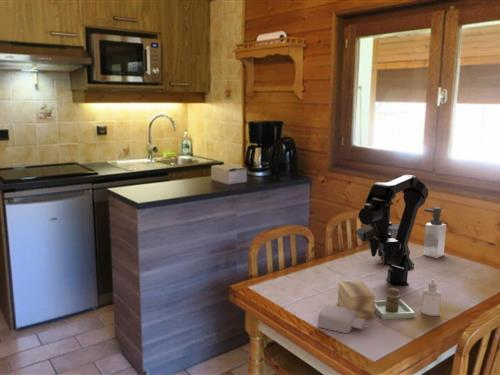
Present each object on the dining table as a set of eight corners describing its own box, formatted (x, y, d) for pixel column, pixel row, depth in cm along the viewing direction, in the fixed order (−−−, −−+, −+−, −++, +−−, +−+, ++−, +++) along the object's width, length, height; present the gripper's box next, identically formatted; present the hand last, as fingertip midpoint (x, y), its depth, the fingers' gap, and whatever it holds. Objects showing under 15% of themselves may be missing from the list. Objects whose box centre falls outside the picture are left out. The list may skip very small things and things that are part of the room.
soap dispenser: (425, 250, 215) (428, 204, 211) (443, 255, 209) (447, 208, 205) (418, 253, 211) (422, 206, 207) (436, 258, 205) (441, 210, 200)
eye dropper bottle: (434, 318, 149) (437, 283, 146) (418, 312, 153) (421, 278, 151) (441, 314, 151) (444, 280, 149) (426, 308, 156) (428, 275, 153)
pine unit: (359, 301, 161) (360, 280, 159) (373, 318, 148) (375, 295, 147) (337, 303, 159) (338, 281, 158) (350, 320, 147) (351, 296, 146)
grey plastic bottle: (366, 339, 136) (317, 328, 142) (372, 326, 144) (326, 316, 151) (367, 325, 135) (318, 314, 141) (373, 312, 143) (327, 302, 150)
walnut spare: (394, 306, 156) (396, 287, 154) (400, 312, 152) (402, 292, 150) (383, 307, 155) (384, 287, 154) (388, 312, 151) (390, 292, 150)
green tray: (400, 304, 159) (400, 299, 159) (414, 317, 149) (415, 312, 149) (370, 305, 158) (370, 301, 157) (382, 319, 148) (382, 314, 148)
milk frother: (386, 253, 210) (388, 222, 207) (421, 261, 201) (423, 228, 198) (374, 262, 199) (376, 229, 196) (410, 270, 190) (413, 236, 187)
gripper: (349, 213, 169) (347, 253, 173) (371, 227, 151) (369, 272, 155) (377, 211, 171) (375, 251, 175) (402, 225, 153) (400, 269, 157)
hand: (379, 260), depth 165 cm, fingers open, 9 cm apart
